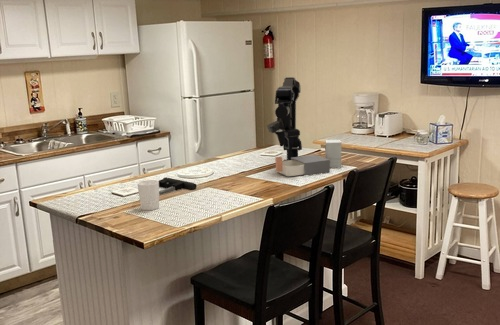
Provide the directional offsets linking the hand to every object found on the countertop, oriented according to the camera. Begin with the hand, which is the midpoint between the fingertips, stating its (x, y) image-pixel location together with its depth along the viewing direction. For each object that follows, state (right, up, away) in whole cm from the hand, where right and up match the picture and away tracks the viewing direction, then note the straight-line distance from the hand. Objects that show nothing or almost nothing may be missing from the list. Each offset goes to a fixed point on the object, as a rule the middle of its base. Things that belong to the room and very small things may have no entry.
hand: (285, 148), depth 244 cm
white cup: (-54, -24, -47) cm, 76 cm away
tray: (+2, -11, -2) cm, 12 cm away
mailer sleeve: (+12, -11, +2) cm, 16 cm away
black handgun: (-51, -19, -21) cm, 58 cm away
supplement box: (+24, -9, +10) cm, 27 cm away
